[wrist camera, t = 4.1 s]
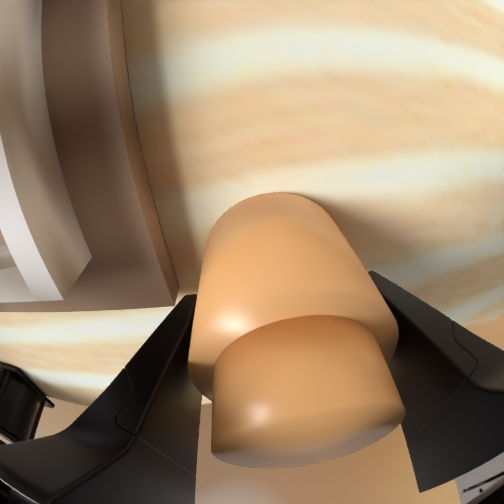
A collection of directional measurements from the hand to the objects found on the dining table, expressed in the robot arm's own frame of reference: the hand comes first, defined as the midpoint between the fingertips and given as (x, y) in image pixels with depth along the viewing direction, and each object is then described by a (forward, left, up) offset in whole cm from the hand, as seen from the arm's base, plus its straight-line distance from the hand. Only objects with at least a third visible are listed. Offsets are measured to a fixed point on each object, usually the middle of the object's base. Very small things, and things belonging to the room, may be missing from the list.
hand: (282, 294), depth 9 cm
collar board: (+7, +12, -2) cm, 14 cm away
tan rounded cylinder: (0, 0, -2) cm, 2 cm away
